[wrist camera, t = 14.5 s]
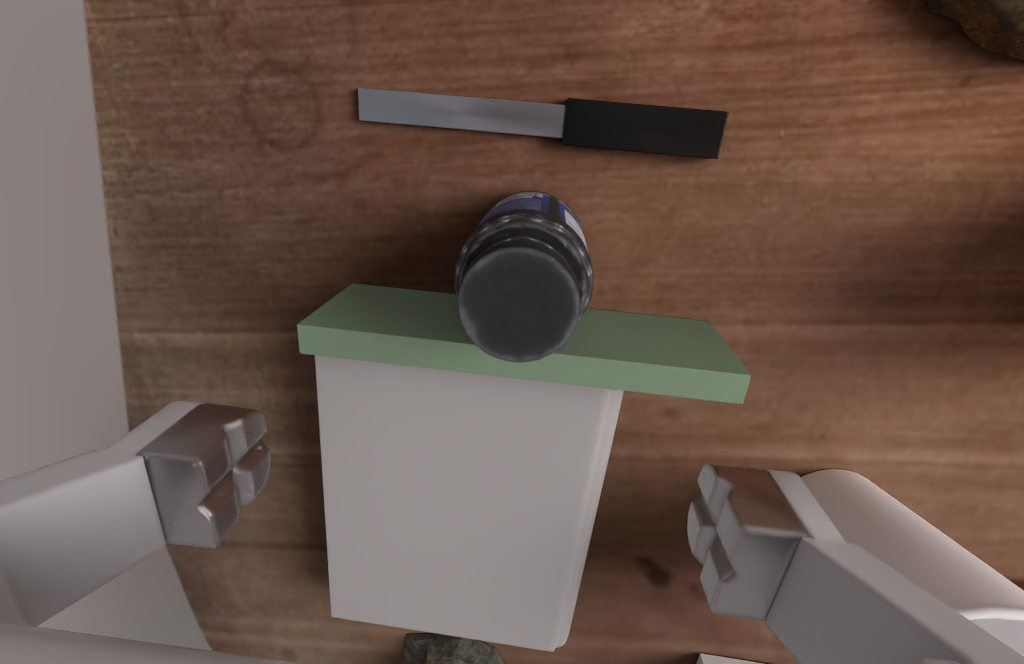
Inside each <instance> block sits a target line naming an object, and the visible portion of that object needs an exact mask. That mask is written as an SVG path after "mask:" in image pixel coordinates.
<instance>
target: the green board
mask: <svg viewBox="0 0 1024 664" xmlns="http://www.w3.org/2000/svg"><path fill="white" fill-rule="evenodd" d="M297 332H298V342H299V352H300V353H301V354H309V355H318V356H327V357H335V358H344V359H353V360H362V361H370V362H379V363H388V364H396V365H405V366H414V367H422V368H431V369H440V370H448V371H457V372H466V373H475V374H483V375H492V376H501V377H509V378H518V379H527V380H535V381H544V382H553V383H561V384H570V385H579V386H588V387H596V388H605V389H614V390H622V391H631V392H640V393H648V394H657V395H666V396H674V397H683V398H692V399H701V400H709V401H718V402H727V403H735V404H743V401H744V398H745V394H746V391H747V388H748V385H749V382H750V378H751V374H750V373H749V372H748V371H747V369H746V368H745V367H744V366H743V364H742V363H741V362H740V360H739V359H738V358H737V357H736V355H735V354H734V353H733V351H732V350H731V349H730V348H729V346H728V345H727V344H726V342H725V341H724V340H723V339H722V337H721V336H720V335H719V334H718V332H717V331H716V330H715V328H714V327H713V326H712V325H711V323H710V322H709V321H702V320H692V319H683V318H674V317H664V316H655V315H646V314H636V313H627V312H618V311H608V310H599V309H590V308H587V309H586V311H585V313H584V314H583V316H582V318H581V319H580V320H579V321H578V322H577V325H576V328H575V330H574V332H573V333H572V335H571V336H570V338H569V339H568V341H567V342H566V343H565V344H564V345H563V346H562V347H561V348H560V349H558V350H557V351H556V352H554V353H552V354H551V355H549V356H546V357H544V358H542V359H540V360H536V361H531V362H521V363H519V362H510V361H505V360H502V359H497V358H495V357H493V356H491V355H488V354H487V353H485V352H484V351H483V350H481V349H480V348H479V347H477V346H476V345H475V344H474V343H473V342H472V341H471V339H470V338H469V337H468V335H467V334H466V333H465V331H464V329H463V327H462V324H461V322H460V319H459V315H458V310H457V295H456V294H449V293H440V292H431V291H421V290H412V289H403V288H393V287H384V286H375V285H365V284H356V283H352V284H351V285H349V286H348V287H347V288H345V289H344V290H343V291H341V292H340V293H338V294H337V295H336V296H334V297H333V298H332V299H330V300H329V301H328V302H326V303H325V304H324V305H322V306H321V307H320V308H318V309H317V310H316V311H314V312H313V313H312V314H310V315H309V316H308V317H306V318H305V319H304V320H302V321H301V322H300V323H298V324H297Z"/></svg>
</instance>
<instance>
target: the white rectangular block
mask: <svg viewBox="0 0 1024 664" xmlns="http://www.w3.org/2000/svg"><path fill="white" fill-rule="evenodd" d="M315 367H316V383H317V398H318V414H319V430H320V446H321V461H322V477H323V493H324V509H325V524H326V540H327V556H328V572H329V588H330V603H331V617H336V618H342V619H349V620H355V621H361V622H368V623H374V624H380V625H387V626H393V627H399V628H405V629H412V630H418V631H424V632H431V633H437V634H443V635H450V636H456V637H462V638H469V639H475V640H481V641H488V642H494V643H500V644H506V645H513V646H519V647H525V648H532V649H538V650H545V651H554V650H555V648H557V647H561V646H563V645H564V644H565V642H566V640H567V638H568V635H569V631H570V627H571V622H572V618H573V613H574V609H575V605H576V600H577V596H578V591H579V587H580V583H581V578H582V574H583V569H584V565H585V560H586V556H587V552H588V547H589V543H590V538H591V534H592V530H593V525H594V521H595V516H596V512H597V508H598V503H599V499H600V494H601V490H602V486H603V481H604V477H605V472H606V468H607V464H608V459H609V455H610V450H611V446H612V442H613V437H614V433H615V428H616V424H617V420H618V415H619V411H620V406H621V402H622V397H623V393H624V391H622V390H614V389H605V388H596V387H588V386H579V385H570V384H561V383H553V382H544V381H535V380H527V379H518V378H509V377H501V376H492V375H483V374H475V373H466V372H457V371H448V370H440V369H431V368H422V367H414V366H405V365H396V364H388V363H379V362H370V361H362V360H353V359H344V358H335V357H327V356H318V355H315Z"/></svg>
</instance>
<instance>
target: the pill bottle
mask: <svg viewBox="0 0 1024 664" xmlns="http://www.w3.org/2000/svg"><path fill="white" fill-rule="evenodd" d="M454 285H455V287H454V288H455V292H456V295H457V310H458V315H459V319H460V322H461V324H462V327H463V329H464V331H465V333H466V334H467V335H468V337H469V338H470V339H471V341H472V342H473V343H474V344H475V345H476V346H477V347H479V348H480V349H481V350H483V351H484V352H485V353H487V354H488V355H491V356H493V357H495V358H497V359H502V360H505V361H510V362H519V363H521V362H531V361H536V360H540V359H542V358H544V357H546V356H549V355H551V354H552V353H554V352H556V351H557V350H558V349H560V348H561V347H562V346H563V345H564V344H565V343H566V342H567V341H568V339H569V338H570V336H571V335H572V333H573V332H574V330H575V328H576V325H577V322H578V321H579V320H580V319H581V318H582V316H583V314H584V313H585V311H586V309H587V306H588V304H589V301H590V298H591V294H592V289H593V269H592V265H591V260H590V256H589V253H588V250H587V246H586V242H585V239H584V235H583V232H582V229H581V226H580V222H579V220H578V218H577V216H576V215H575V214H574V213H573V211H572V210H571V209H570V208H569V207H568V206H567V205H566V204H565V203H563V202H561V201H560V200H559V199H558V198H556V197H554V196H552V195H550V194H547V193H544V192H539V191H522V192H519V193H515V194H513V195H510V196H507V197H505V198H503V199H501V200H500V201H499V202H497V203H496V204H495V205H494V206H493V207H492V208H490V210H489V211H488V213H487V214H486V215H485V217H484V218H483V219H482V221H481V222H480V223H479V224H478V226H477V227H476V228H475V230H474V231H473V232H472V233H471V235H470V236H469V237H468V238H467V240H466V241H465V242H464V245H463V246H462V248H461V250H460V252H459V255H458V258H457V261H456V266H455V272H454Z"/></svg>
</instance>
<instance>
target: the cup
mask: <svg viewBox="0 0 1024 664" xmlns="http://www.w3.org/2000/svg"><path fill="white" fill-rule="evenodd" d="M800 478H801V479H802V481H803V482H804V484H805V485H806V486H807V488H808V489H809V491H810V492H811V493H812V495H813V496H814V498H815V499H816V501H817V502H818V503H819V505H820V506H821V508H822V509H823V510H824V512H825V513H826V515H827V516H828V518H829V519H830V520H831V522H832V523H833V525H834V526H835V527H836V529H837V530H838V532H839V533H840V534H841V536H842V537H843V539H844V540H845V542H846V543H853V544H857V545H858V546H860V547H861V548H863V549H864V550H866V551H867V552H869V553H870V554H872V555H873V556H875V557H876V558H878V559H879V560H881V561H882V562H884V563H885V564H887V565H888V566H890V567H891V568H893V569H894V570H896V571H897V572H899V573H900V574H902V575H903V576H904V577H906V578H907V579H909V580H910V581H912V582H913V583H915V584H916V585H918V586H919V587H921V588H922V589H924V590H925V591H927V592H928V593H930V594H931V595H933V596H934V597H936V598H937V599H939V600H940V601H942V602H943V603H945V604H946V605H948V606H949V607H951V608H952V609H954V610H955V611H956V612H958V613H959V614H961V615H962V616H964V617H965V618H967V619H968V620H970V621H971V622H973V623H974V624H976V625H977V626H979V627H980V628H982V629H983V630H985V631H986V632H988V633H989V634H991V635H992V636H994V637H995V638H997V639H998V640H1000V641H1001V642H1003V643H1004V644H1006V645H1007V646H1008V647H1010V648H1011V649H1013V650H1014V651H1016V652H1017V653H1019V654H1020V655H1022V656H1023V657H1024V591H1023V590H1022V589H1020V588H1019V587H1018V586H1016V585H1015V584H1013V583H1012V582H1011V581H1009V580H1008V579H1006V578H1005V577H1004V576H1002V575H1001V574H999V573H998V572H997V571H995V570H994V569H992V568H991V567H990V566H988V565H987V564H985V563H984V562H983V561H981V560H980V559H978V558H977V557H976V556H974V555H973V554H971V553H970V552H969V551H967V550H966V549H964V548H963V547H962V546H960V545H959V544H957V543H956V542H955V541H953V540H952V539H950V538H949V537H948V536H946V535H945V534H943V533H942V532H941V531H939V530H938V529H936V528H935V527H934V526H932V525H931V524H929V523H928V522H927V521H925V520H924V519H922V518H921V517H920V516H918V515H917V514H915V513H914V512H913V511H911V510H910V509H908V508H907V507H906V506H904V505H903V504H901V503H900V502H899V501H897V500H896V499H894V498H893V497H892V496H890V495H889V494H887V493H886V492H885V491H883V490H882V489H880V488H879V487H878V486H876V485H875V484H873V483H872V482H871V481H869V480H868V479H866V478H865V477H863V476H861V475H860V474H858V473H854V472H851V471H848V470H839V469H828V470H821V471H816V472H813V473H810V474H807V475H804V476H802V477H800Z"/></svg>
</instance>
